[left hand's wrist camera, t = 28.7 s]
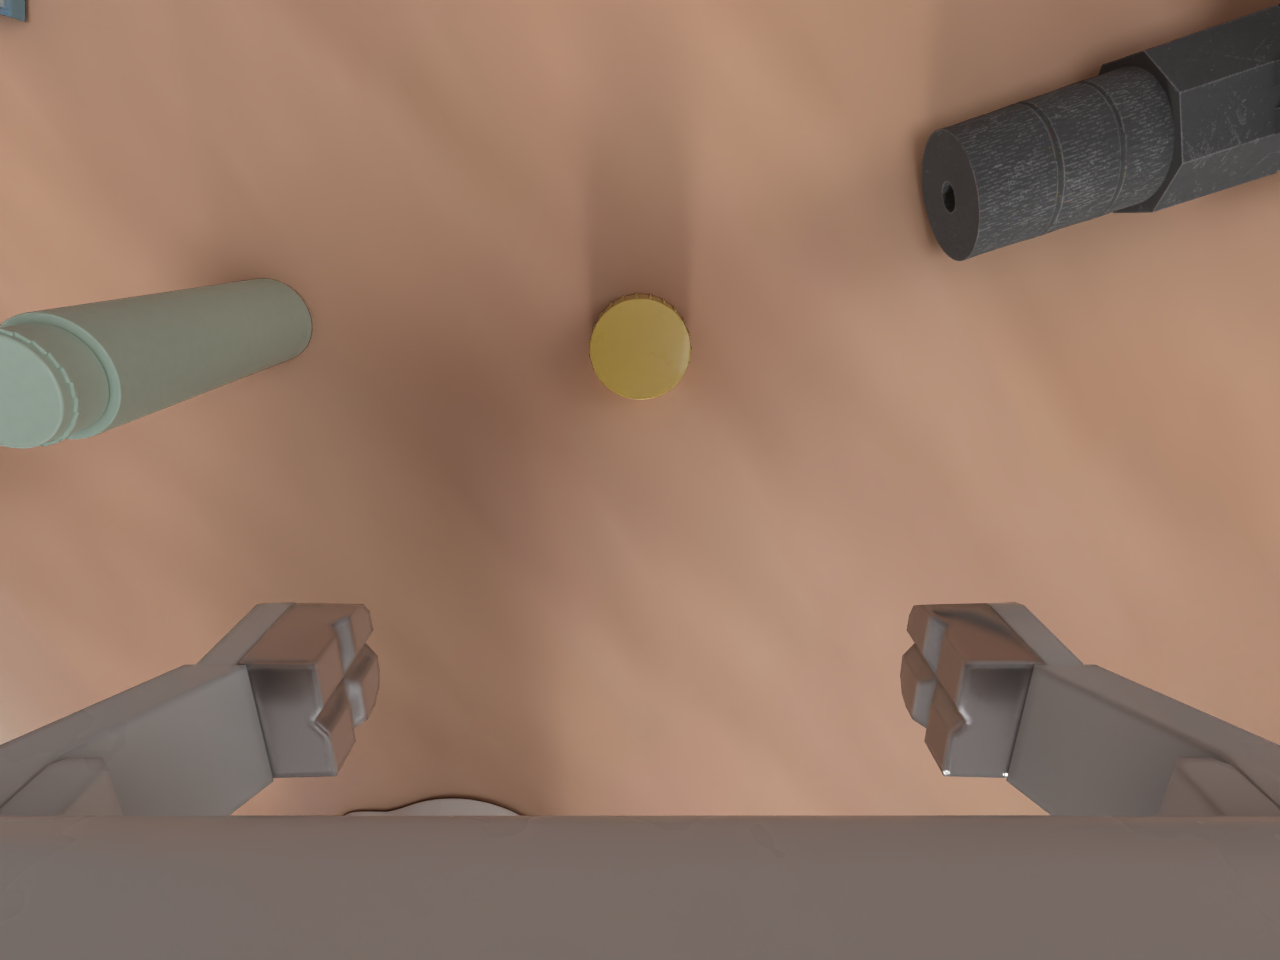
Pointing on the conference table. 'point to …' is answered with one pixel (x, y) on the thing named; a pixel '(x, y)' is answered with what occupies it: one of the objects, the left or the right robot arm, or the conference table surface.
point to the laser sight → (1112, 140)
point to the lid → (640, 346)
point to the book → (13, 9)
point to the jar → (138, 355)
